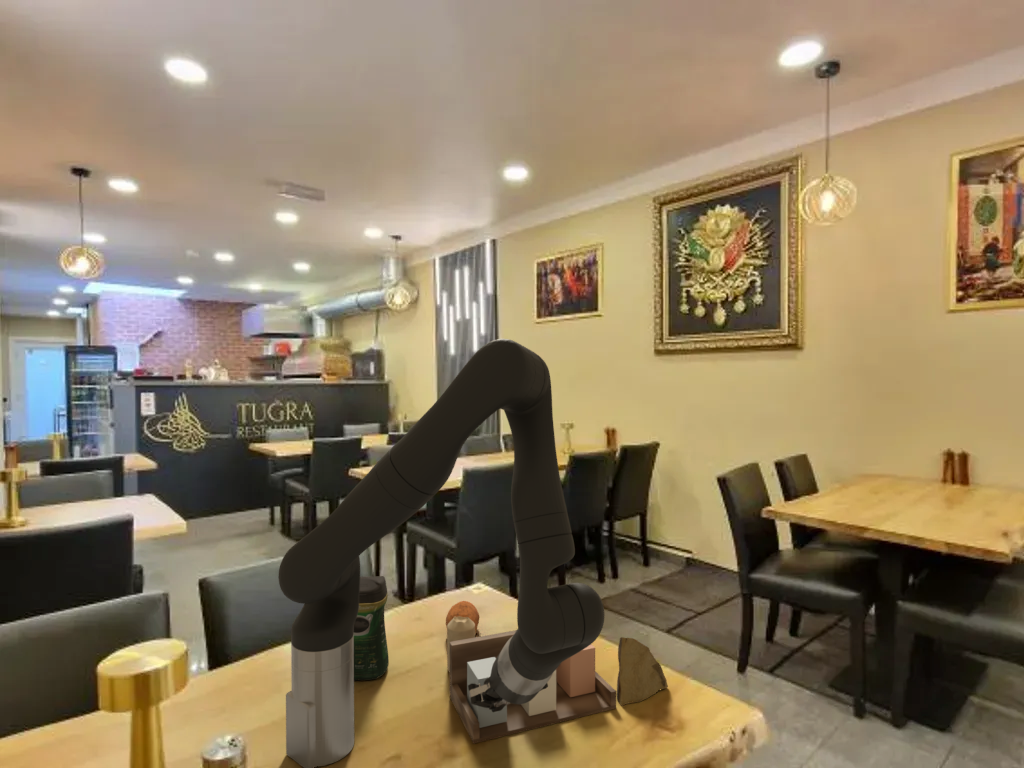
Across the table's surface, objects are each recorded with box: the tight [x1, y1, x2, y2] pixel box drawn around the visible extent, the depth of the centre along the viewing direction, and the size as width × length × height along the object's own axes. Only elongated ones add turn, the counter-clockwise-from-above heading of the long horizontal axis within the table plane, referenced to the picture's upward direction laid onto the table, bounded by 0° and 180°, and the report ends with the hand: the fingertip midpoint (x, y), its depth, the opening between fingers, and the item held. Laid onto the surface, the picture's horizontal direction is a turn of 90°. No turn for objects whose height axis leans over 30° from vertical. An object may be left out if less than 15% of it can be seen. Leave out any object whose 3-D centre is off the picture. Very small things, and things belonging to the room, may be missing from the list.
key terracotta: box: [556, 643, 596, 697], centre depth 106 cm, size 6×5×8 cm
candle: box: [446, 616, 476, 673], centre depth 114 cm, size 6×6×10 cm
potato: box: [445, 600, 480, 634], centre depth 129 cm, size 7×13×7 cm, turn 176°
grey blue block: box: [467, 657, 507, 728], centre depth 97 cm, size 6×5×8 cm
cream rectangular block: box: [521, 670, 556, 716], centre depth 101 cm, size 6×5×8 cm
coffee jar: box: [354, 575, 389, 681], centre depth 113 cm, size 10×8×19 cm
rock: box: [616, 636, 669, 707], centre depth 105 cm, size 11×9×10 cm
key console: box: [449, 629, 617, 744], centre depth 102 cm, size 14×26×10 cm, turn 112°
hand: (494, 704), depth 93 cm, fingers closed
